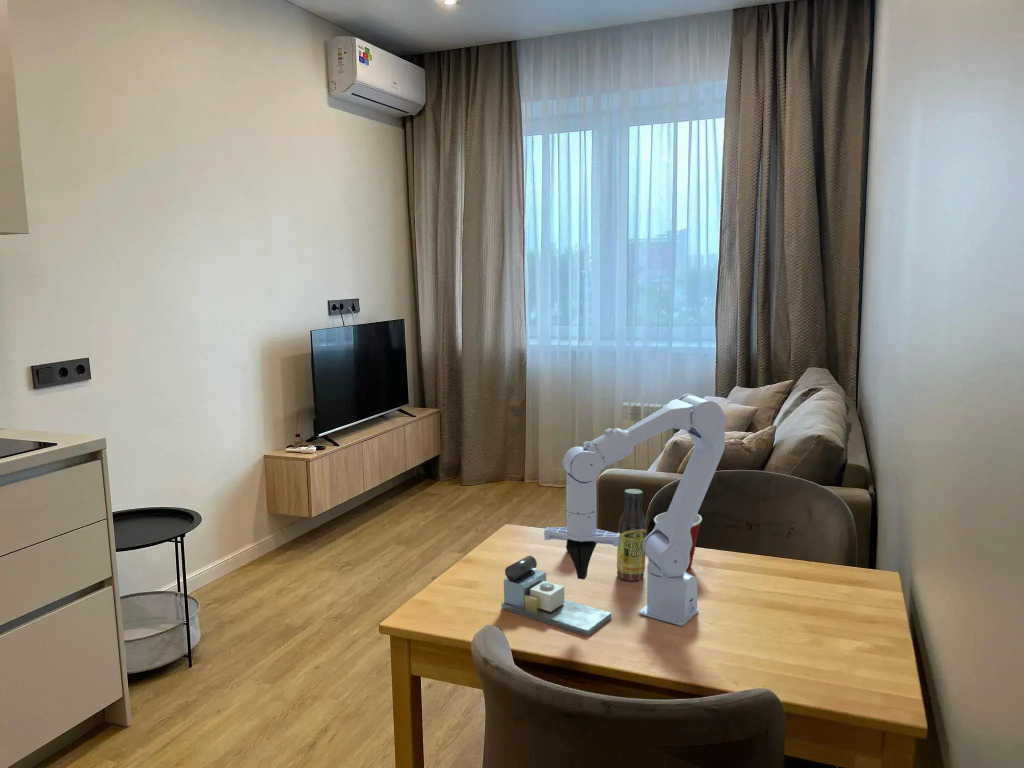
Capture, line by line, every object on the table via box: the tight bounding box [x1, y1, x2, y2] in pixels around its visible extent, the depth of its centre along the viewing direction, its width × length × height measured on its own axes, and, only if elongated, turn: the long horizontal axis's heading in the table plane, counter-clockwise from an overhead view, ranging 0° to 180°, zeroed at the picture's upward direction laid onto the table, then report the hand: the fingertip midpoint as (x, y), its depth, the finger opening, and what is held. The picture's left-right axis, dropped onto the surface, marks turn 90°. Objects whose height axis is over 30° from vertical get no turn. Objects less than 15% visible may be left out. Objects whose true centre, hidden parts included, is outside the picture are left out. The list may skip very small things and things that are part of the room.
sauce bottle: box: [616, 488, 647, 582], centre depth 167 cm, size 6×6×20 cm
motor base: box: [501, 555, 612, 637], centre depth 150 cm, size 20×9×9 cm, turn 53°
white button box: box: [530, 580, 565, 612], centre depth 152 cm, size 5×5×4 cm
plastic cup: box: [653, 511, 703, 572], centre depth 173 cm, size 11×11×12 cm
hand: (582, 577), depth 146 cm, fingers closed
